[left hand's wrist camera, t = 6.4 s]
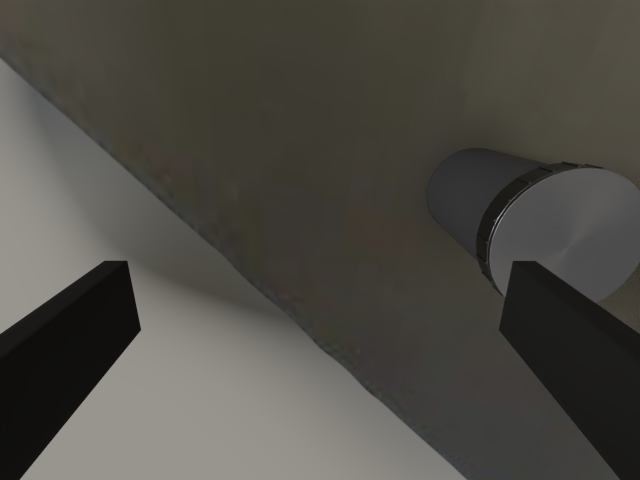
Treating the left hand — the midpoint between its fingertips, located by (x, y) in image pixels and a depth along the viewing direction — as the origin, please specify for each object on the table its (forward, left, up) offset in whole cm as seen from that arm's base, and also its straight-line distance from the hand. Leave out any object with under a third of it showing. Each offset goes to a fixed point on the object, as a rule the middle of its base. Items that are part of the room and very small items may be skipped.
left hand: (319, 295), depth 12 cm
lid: (+2, +17, -12) cm, 20 cm away
